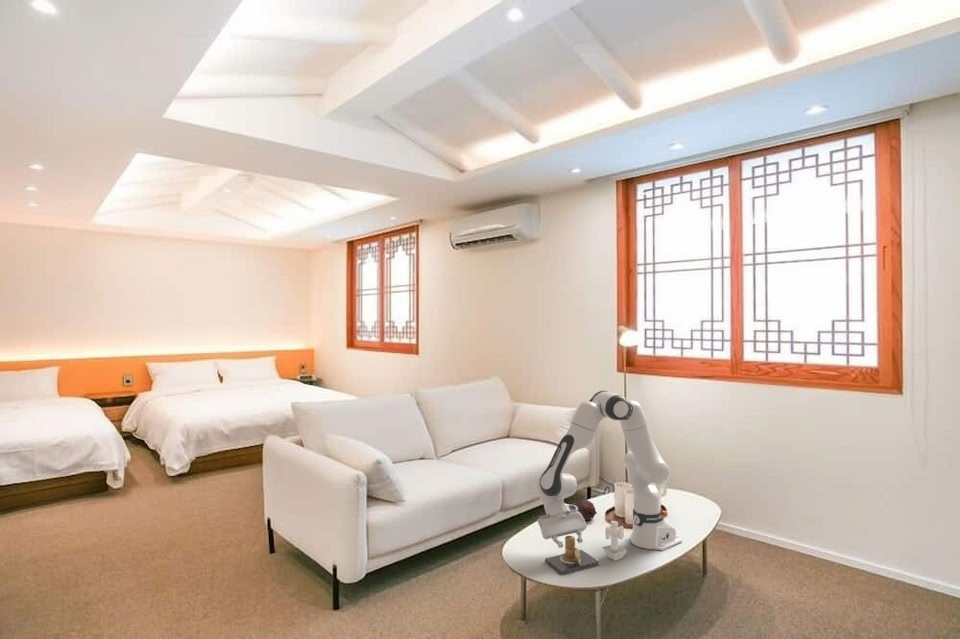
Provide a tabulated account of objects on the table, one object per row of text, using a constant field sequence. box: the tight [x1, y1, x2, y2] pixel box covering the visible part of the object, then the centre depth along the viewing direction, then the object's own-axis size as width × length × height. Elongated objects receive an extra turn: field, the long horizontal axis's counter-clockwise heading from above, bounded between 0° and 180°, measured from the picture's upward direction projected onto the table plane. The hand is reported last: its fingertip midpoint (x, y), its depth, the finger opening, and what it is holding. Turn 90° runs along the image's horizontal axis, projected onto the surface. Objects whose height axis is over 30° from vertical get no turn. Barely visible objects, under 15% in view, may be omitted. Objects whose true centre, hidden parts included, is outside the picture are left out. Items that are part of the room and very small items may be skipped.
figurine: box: [602, 520, 628, 562], centre depth 220 cm, size 7×9×15 cm
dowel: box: [575, 547, 581, 565], centre depth 212 cm, size 2×2×6 cm
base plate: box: [544, 549, 600, 576], centre depth 215 cm, size 18×12×2 cm, turn 115°
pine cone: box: [571, 499, 598, 521], centre depth 263 cm, size 18×10×10 cm
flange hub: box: [561, 535, 576, 563], centre depth 216 cm, size 7×7×8 cm
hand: (571, 544), depth 215 cm, fingers open, 8 cm apart
